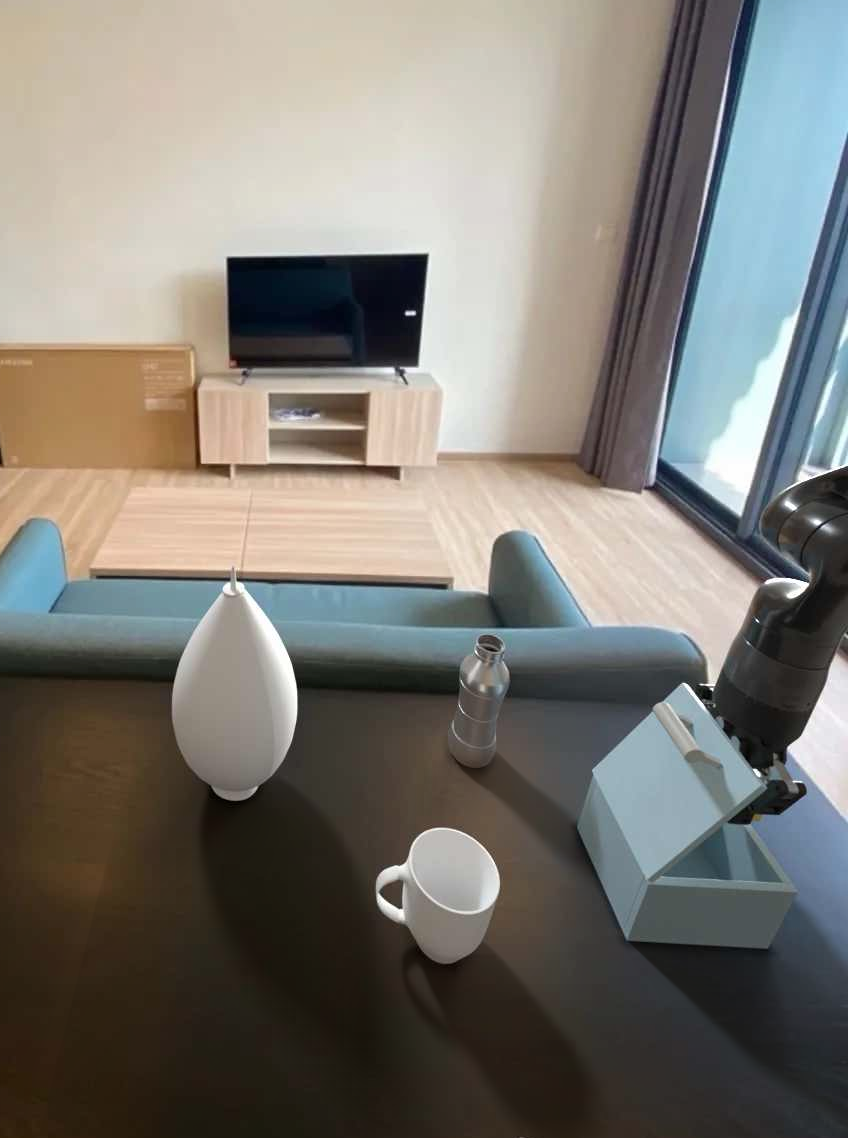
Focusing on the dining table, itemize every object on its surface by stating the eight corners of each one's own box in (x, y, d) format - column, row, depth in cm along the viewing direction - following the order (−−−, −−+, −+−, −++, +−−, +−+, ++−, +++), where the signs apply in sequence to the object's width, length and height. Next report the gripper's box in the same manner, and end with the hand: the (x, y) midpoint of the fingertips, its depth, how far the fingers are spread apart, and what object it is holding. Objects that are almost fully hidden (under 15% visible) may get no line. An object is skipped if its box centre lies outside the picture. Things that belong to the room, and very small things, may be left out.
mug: (472, 901, 73) (488, 830, 69) (490, 992, 65) (510, 919, 61) (368, 889, 75) (377, 818, 70) (374, 978, 66) (384, 905, 62)
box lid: (688, 684, 71) (651, 668, 71) (768, 788, 60) (725, 769, 59) (596, 772, 77) (562, 758, 77) (653, 883, 66) (613, 866, 65)
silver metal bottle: (446, 769, 89) (466, 656, 81) (444, 730, 95) (463, 622, 87) (495, 779, 88) (520, 665, 80) (490, 739, 94) (513, 630, 86)
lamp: (287, 846, 79) (297, 617, 65) (162, 826, 81) (146, 601, 68) (298, 740, 93) (308, 534, 80) (192, 726, 96) (184, 523, 82)
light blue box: (696, 835, 81) (719, 780, 77) (766, 951, 69) (798, 892, 65) (576, 829, 81) (593, 774, 77) (625, 943, 70) (648, 884, 66)
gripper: (869, 741, 57) (802, 866, 64) (759, 632, 70) (713, 745, 77) (782, 737, 58) (724, 862, 64) (689, 629, 71) (649, 742, 77)
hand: (718, 798), depth 71 cm, fingers closed on sponge, 4 cm apart
